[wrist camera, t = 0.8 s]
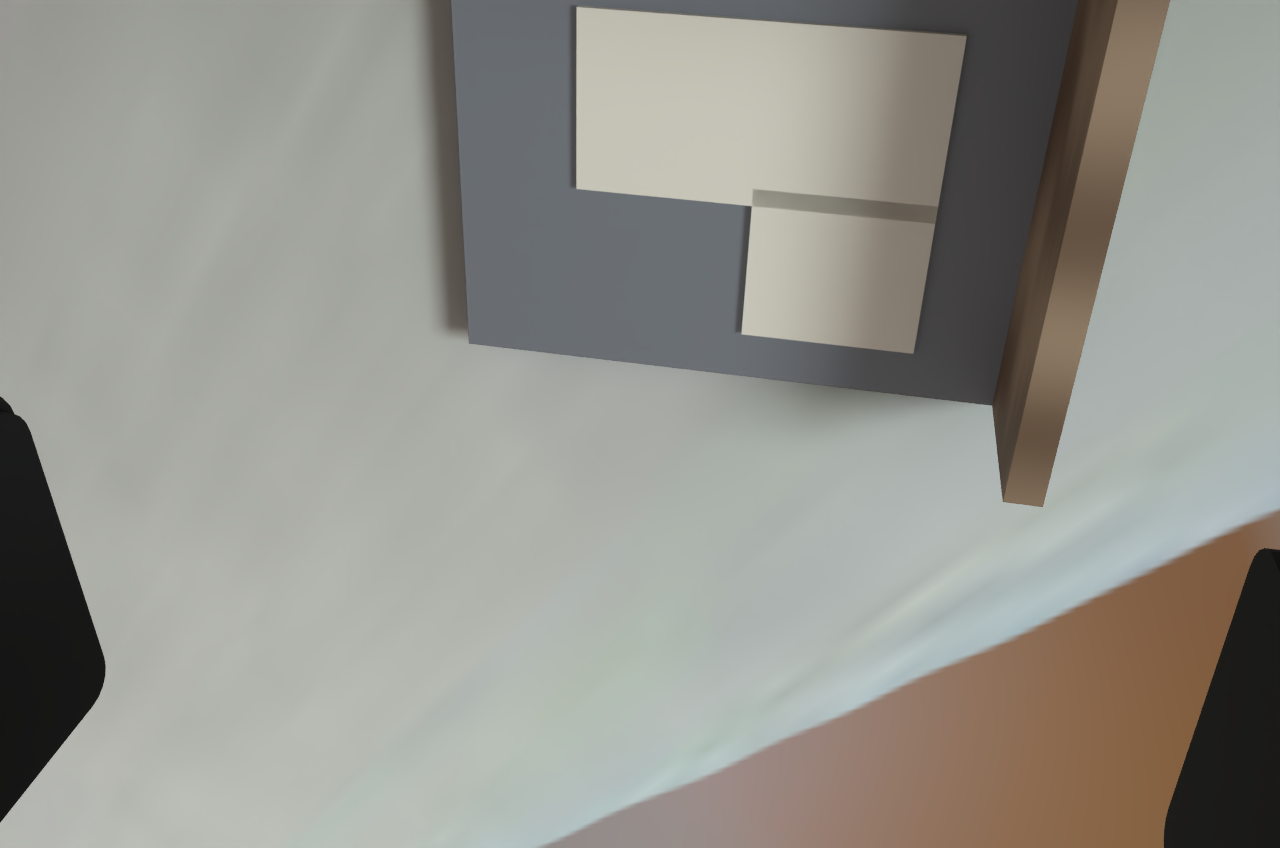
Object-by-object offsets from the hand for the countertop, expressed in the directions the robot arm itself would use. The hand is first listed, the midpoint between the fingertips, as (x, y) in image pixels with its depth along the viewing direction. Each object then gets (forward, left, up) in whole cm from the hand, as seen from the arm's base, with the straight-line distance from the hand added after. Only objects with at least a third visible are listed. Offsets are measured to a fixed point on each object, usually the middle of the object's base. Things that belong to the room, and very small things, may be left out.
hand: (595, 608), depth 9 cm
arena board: (+3, -1, -26) cm, 26 cm away
